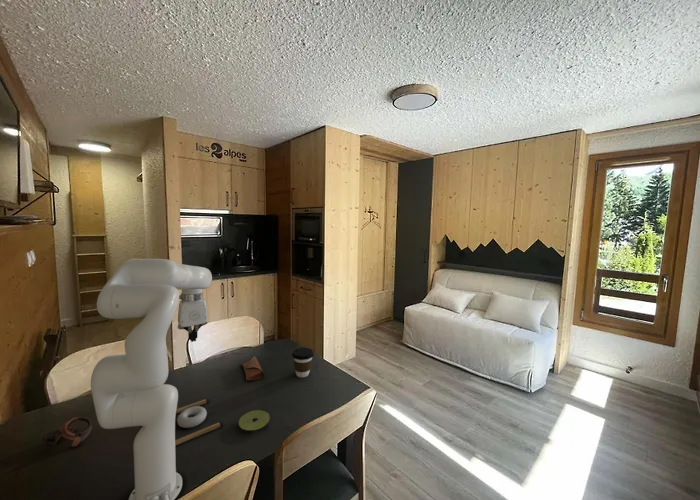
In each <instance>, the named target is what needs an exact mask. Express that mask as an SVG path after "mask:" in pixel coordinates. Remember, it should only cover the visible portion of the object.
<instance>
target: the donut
mask: <svg viewBox="0 0 700 500" xmlns="http://www.w3.org/2000/svg"><path fill="white" fill-rule="evenodd" d="M207 415H208V412H207V409H206V408H205V407H203V406H201V405H200V406H195V407H190V408H188V409H186V410H184V411H183V412H180V414H178V416H177V419H176V422H177V425H178V426H179V427H180V428H183V429H191V428H195V427H197V426H199V425H200V424H202V423H203V422H204V421H205V420H206V418H207Z"/></svg>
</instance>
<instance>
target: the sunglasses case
mask: <svg viewBox="0 0 700 500" xmlns="http://www.w3.org/2000/svg"><path fill="white" fill-rule="evenodd" d="M240 366H241V367H242V369H243V372H244V375H245V381H255V380H256V381H257V380H261V379H263V378H264V375H265V373H264V371H263V368H262V367H261V364H260V362H259V361H258V358H257V357H256V356H255V355H254V356H253V357H251V358H249V359H248V360H246V361H244V362H243V363H241V364H240Z"/></svg>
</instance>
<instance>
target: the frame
mask: <svg viewBox="0 0 700 500" xmlns="http://www.w3.org/2000/svg"><path fill="white" fill-rule="evenodd" d="M207 403H208V401H207V399H206V398H205V399H202V400H199V401H196V402H193V403H190V404H187V405H184V406H182V407H179V408H178V407H177V409H176V415H177V414H179V413H181V412H183V411H184V410H186V409H188V408H190V407H195V406H200V407H201V406H203V405H205V404H207ZM219 428H221V423H220V422H217V423H214V424H212V425H209V426H206V427H204V428H202V429H199V430H196V431H194V432H192V433H189V434H187V435H184V436H181V437H180V438H177V439H175V447H176V446H178V445H180V444H183V443H185V442H188V441H190V440H192V439H195V438H197V437H200V436H202V435H205V434H207V433H209V432H211V431H214V430H217V429H219Z"/></svg>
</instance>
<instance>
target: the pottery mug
mask: <svg viewBox="0 0 700 500" xmlns="http://www.w3.org/2000/svg"><path fill="white" fill-rule="evenodd" d="M76 421H80V422H86V423H87V425H88V426H87V428H86V429H85V430H83V431H81V432H79V434H78V435H76V433H74V431H75V429H76V426H71V424H73V423H74V422H76ZM92 429H93V422H92V419H90V418H89V417H87V416H84V415H83V416H82V415H81V416H76V417H73V418H71V419H69V420H68V421H66V422H64V423H63V424H62V425H61V426H59V428H57V429H55V430H51V431H48V432H47V433H45V434H44V435H43V436H42V438H41V441H42V443H43V444H45V445H51V446H53V447H56V446H57V443H58V441H59V439H60V438H64V439H66V440H68V441H72V443H71V445H70V447H71V448H75V447H77V446H78V445H79V444H80V443H82V442H83V441H84V440H85V439H86V438H87V437H88V436H89V435H90V434H91V432H92Z"/></svg>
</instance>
